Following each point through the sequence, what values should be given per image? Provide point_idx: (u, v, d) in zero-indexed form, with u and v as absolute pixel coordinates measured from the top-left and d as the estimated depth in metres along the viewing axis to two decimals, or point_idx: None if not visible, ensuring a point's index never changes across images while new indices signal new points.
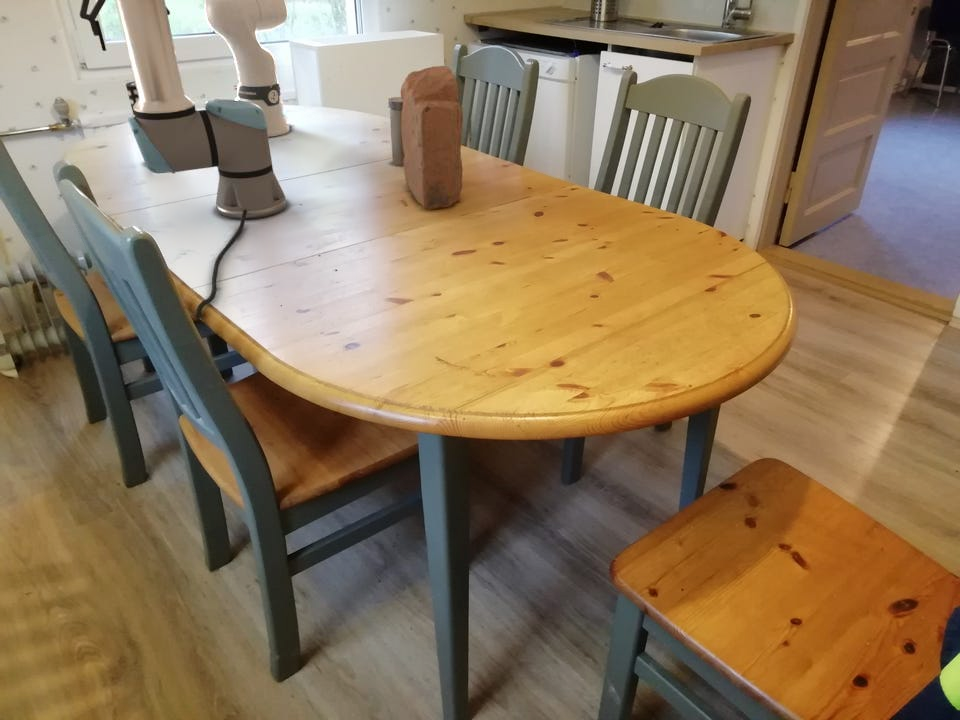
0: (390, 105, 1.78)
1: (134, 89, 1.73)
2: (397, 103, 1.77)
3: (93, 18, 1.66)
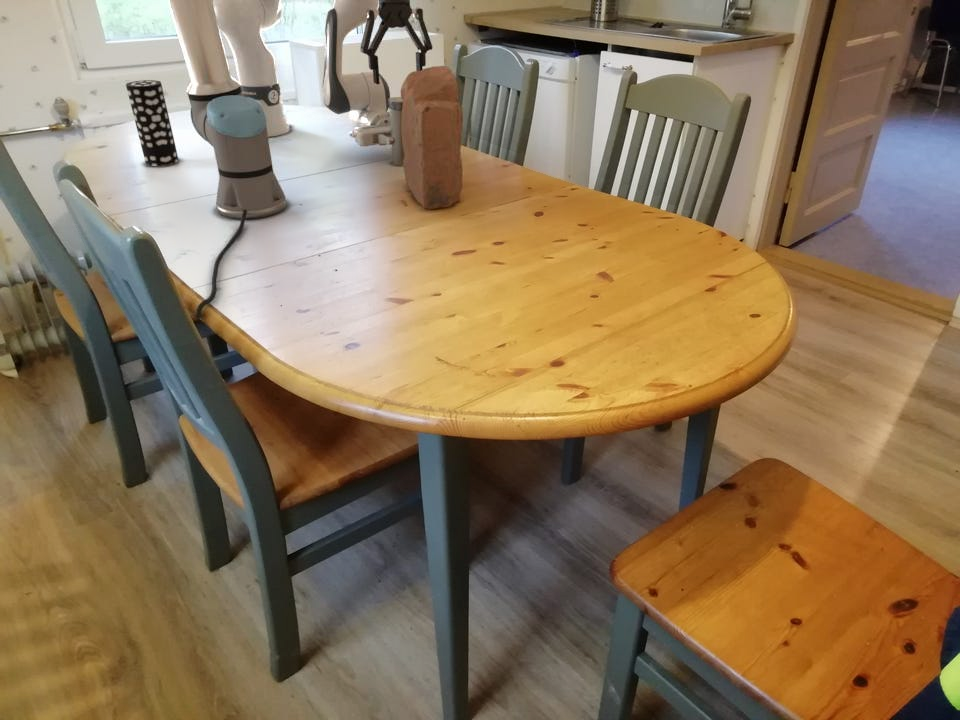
0: (390, 105, 1.78)
1: (134, 89, 1.73)
2: (397, 103, 1.77)
3: None
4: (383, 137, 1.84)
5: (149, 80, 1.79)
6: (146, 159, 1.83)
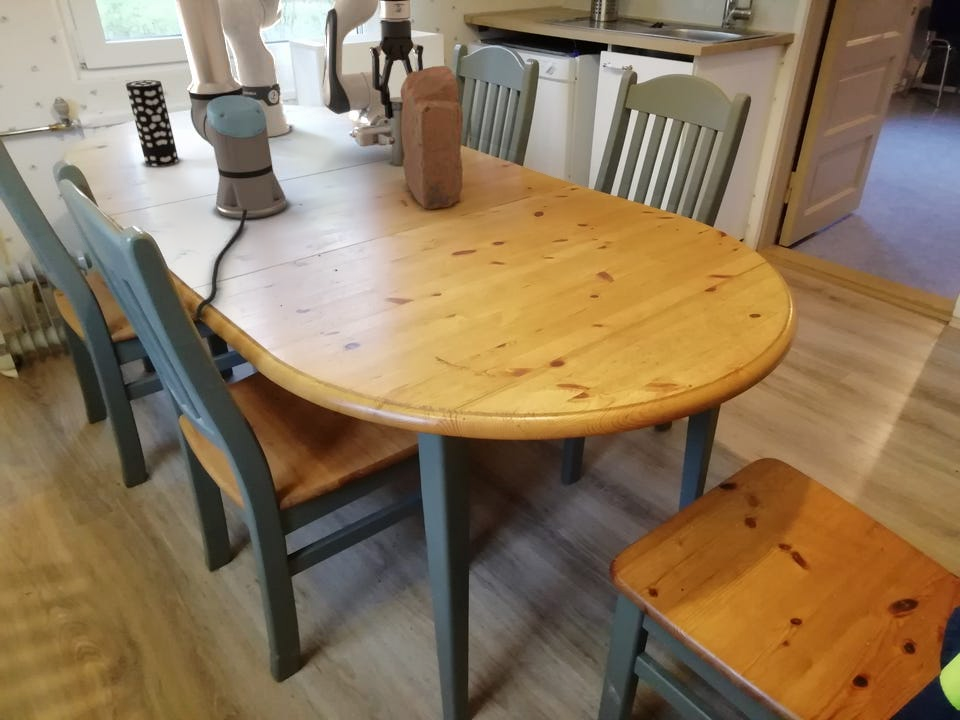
0: (390, 105, 1.78)
1: (134, 89, 1.73)
2: (397, 103, 1.77)
3: None
4: (383, 137, 1.84)
5: (149, 80, 1.79)
6: (146, 159, 1.83)
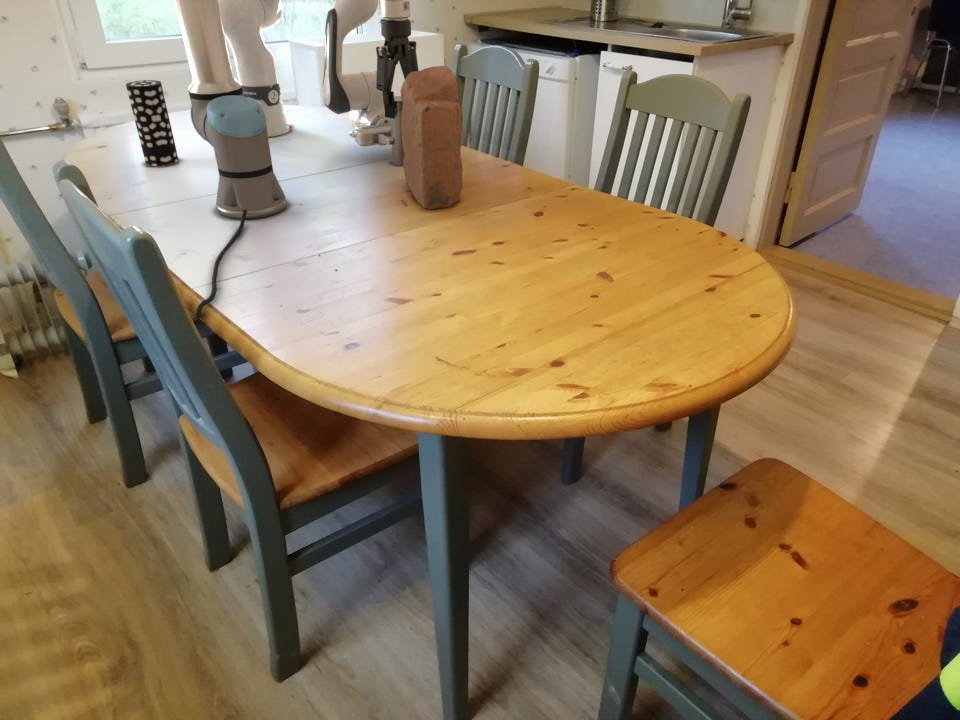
0: None
1: (134, 89, 1.73)
2: None
3: None
4: (383, 137, 1.84)
5: (149, 80, 1.79)
6: (146, 159, 1.83)
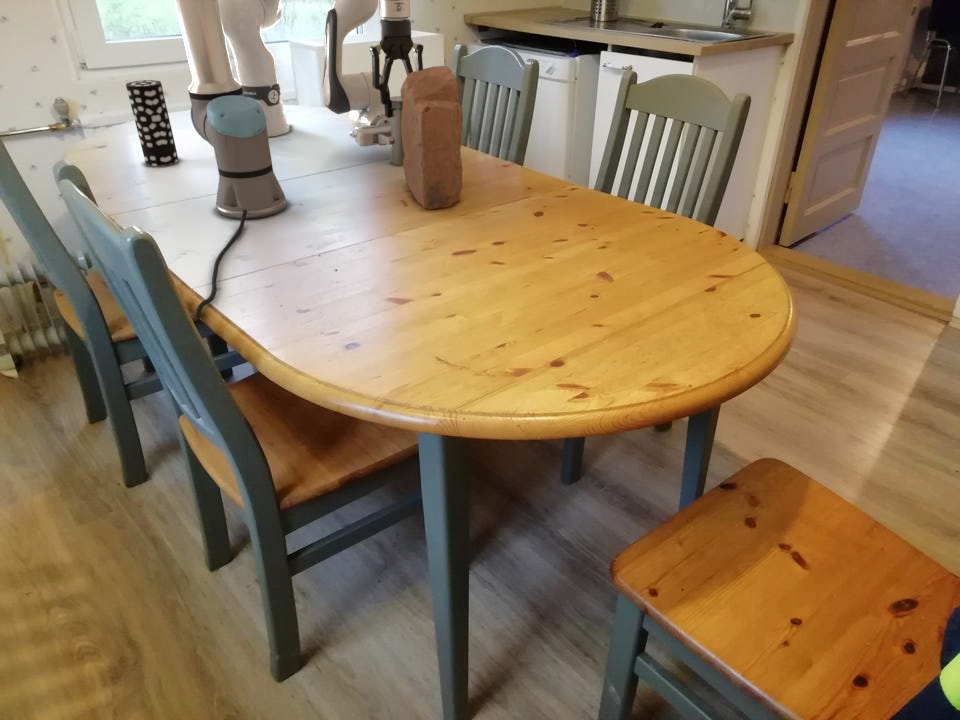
0: None
1: (134, 89, 1.73)
2: None
3: None
4: (383, 137, 1.84)
5: (149, 80, 1.79)
6: (146, 159, 1.83)
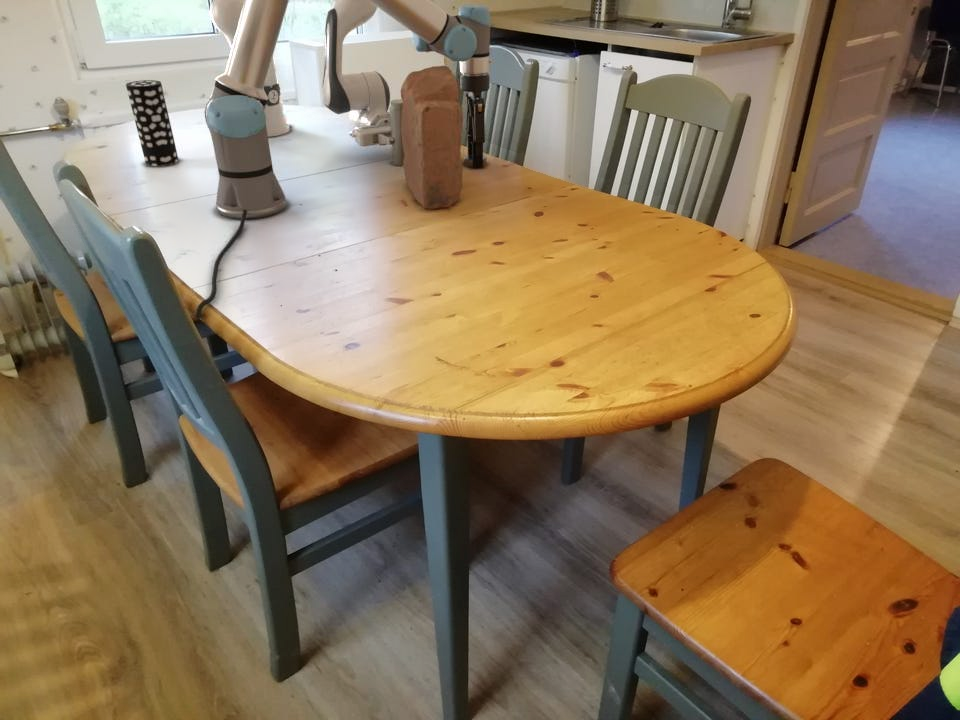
0: None
1: (134, 89, 1.73)
2: None
3: (467, 132, 1.87)
4: (383, 137, 1.84)
5: (149, 80, 1.79)
6: (146, 159, 1.83)
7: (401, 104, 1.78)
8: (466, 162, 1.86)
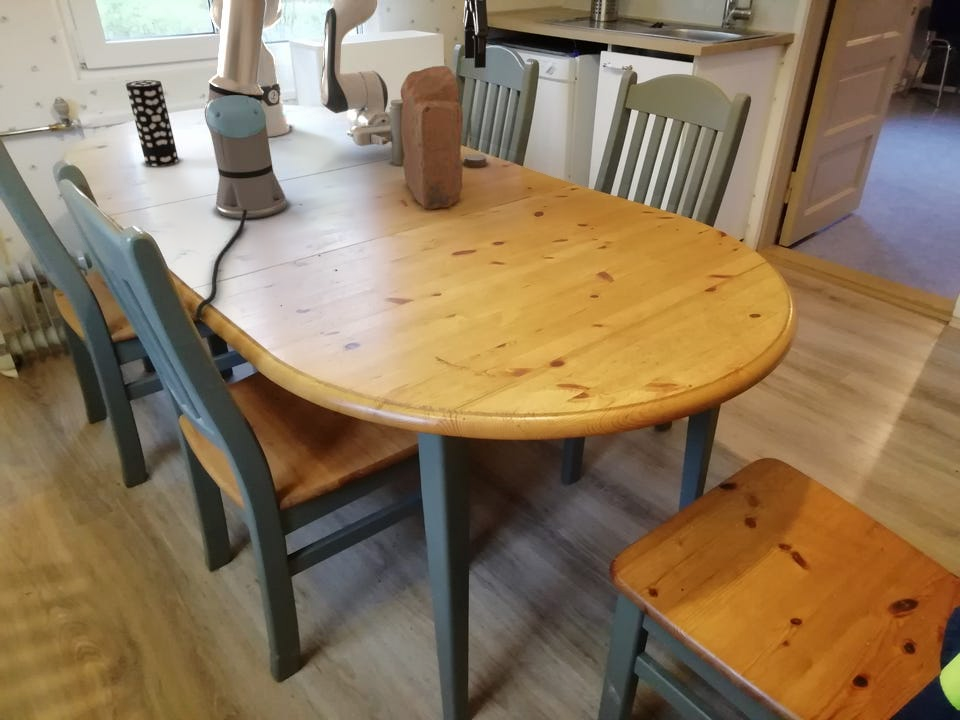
0: None
1: (134, 89, 1.73)
2: None
3: (464, 27, 1.76)
4: (376, 137, 1.84)
5: (149, 80, 1.79)
6: (146, 159, 1.83)
7: (401, 104, 1.78)
8: (466, 162, 1.86)
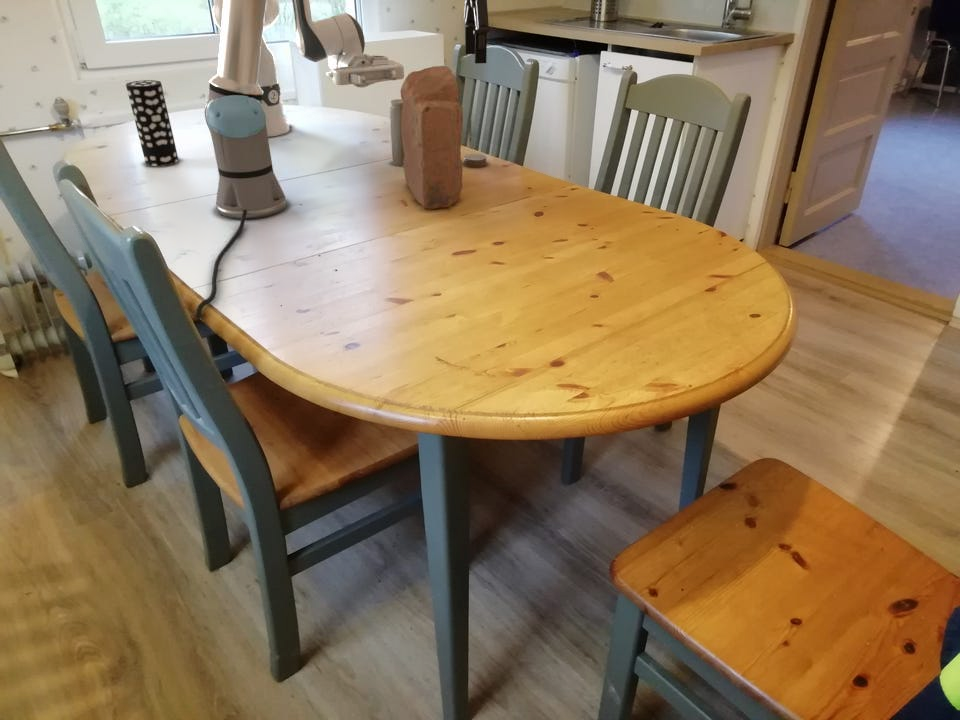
0: None
1: (134, 89, 1.73)
2: None
3: (465, 23, 1.76)
4: (355, 76, 1.85)
5: (149, 80, 1.79)
6: (146, 159, 1.83)
7: (401, 104, 1.78)
8: (466, 162, 1.86)
